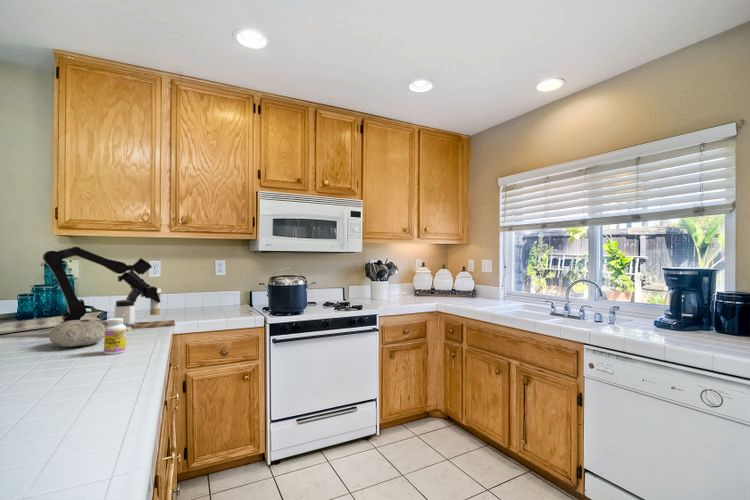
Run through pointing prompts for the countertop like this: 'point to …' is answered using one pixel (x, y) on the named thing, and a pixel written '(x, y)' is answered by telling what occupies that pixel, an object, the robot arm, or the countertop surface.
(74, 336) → the grey rock
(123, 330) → the supplement bottle
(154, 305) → the sprinkles bottle
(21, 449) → the countertop surface
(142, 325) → the board
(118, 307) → the jar
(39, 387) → the countertop surface
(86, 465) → the countertop surface
